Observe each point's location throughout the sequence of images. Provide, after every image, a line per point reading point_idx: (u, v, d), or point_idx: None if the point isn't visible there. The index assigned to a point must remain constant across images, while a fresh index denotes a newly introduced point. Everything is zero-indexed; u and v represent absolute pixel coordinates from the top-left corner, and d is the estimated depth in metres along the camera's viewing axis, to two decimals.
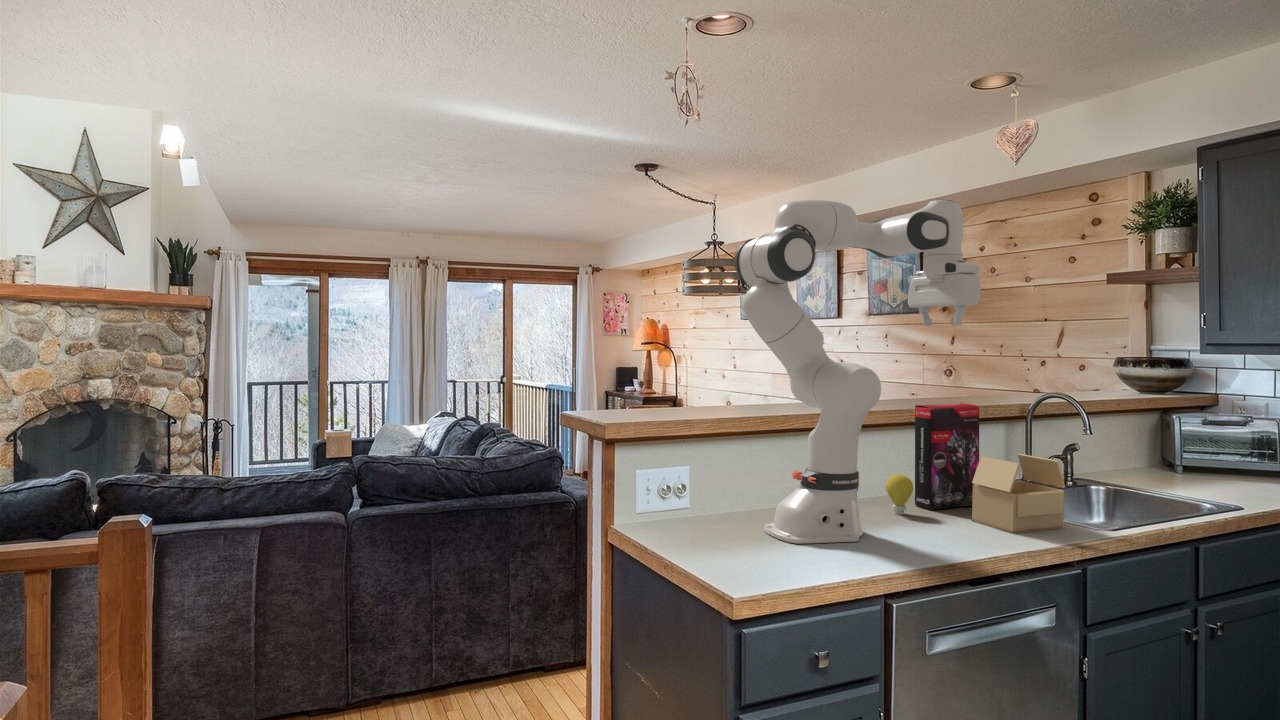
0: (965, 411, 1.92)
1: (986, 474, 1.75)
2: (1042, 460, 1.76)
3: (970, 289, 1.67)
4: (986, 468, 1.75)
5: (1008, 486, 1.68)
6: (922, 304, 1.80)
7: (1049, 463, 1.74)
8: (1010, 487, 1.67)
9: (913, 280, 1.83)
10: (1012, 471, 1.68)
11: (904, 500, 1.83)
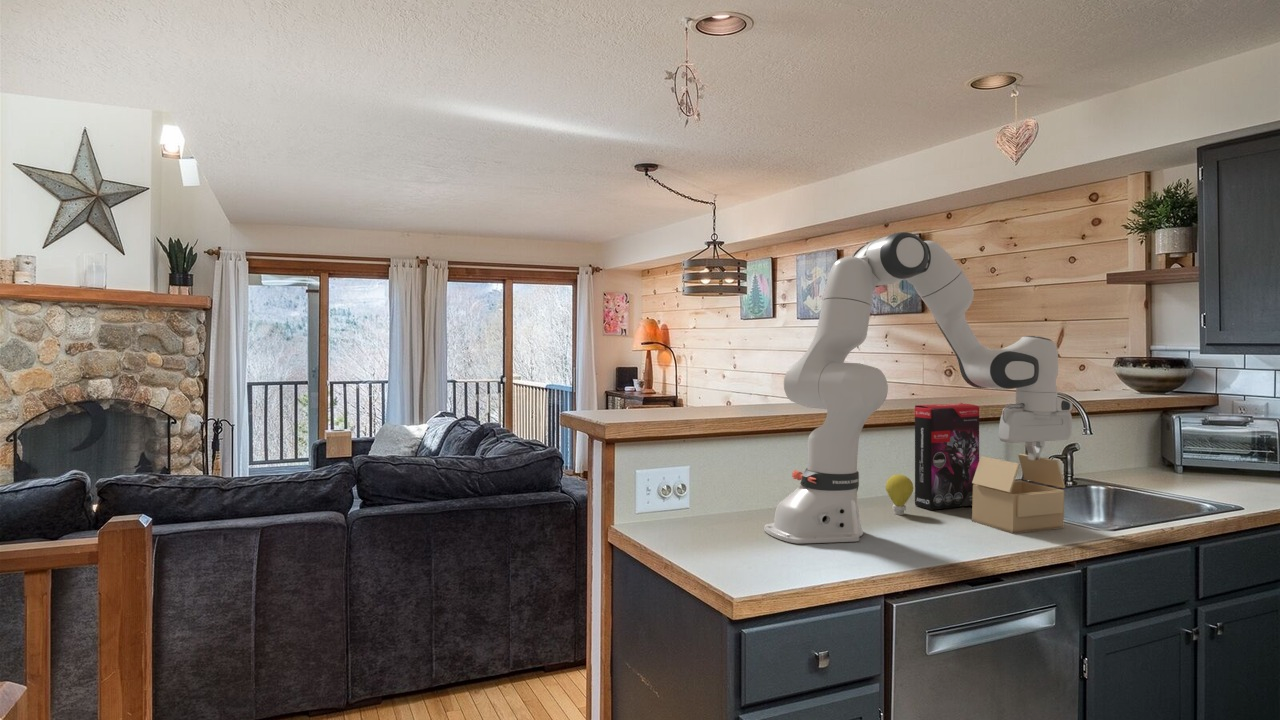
0: (965, 411, 1.92)
1: (986, 474, 1.75)
2: (1043, 460, 1.76)
3: None
4: (986, 468, 1.75)
5: (1008, 486, 1.68)
6: (1026, 440, 1.74)
7: (1050, 463, 1.74)
8: (1010, 487, 1.67)
9: (1017, 414, 1.72)
10: (1012, 471, 1.68)
11: (904, 500, 1.83)
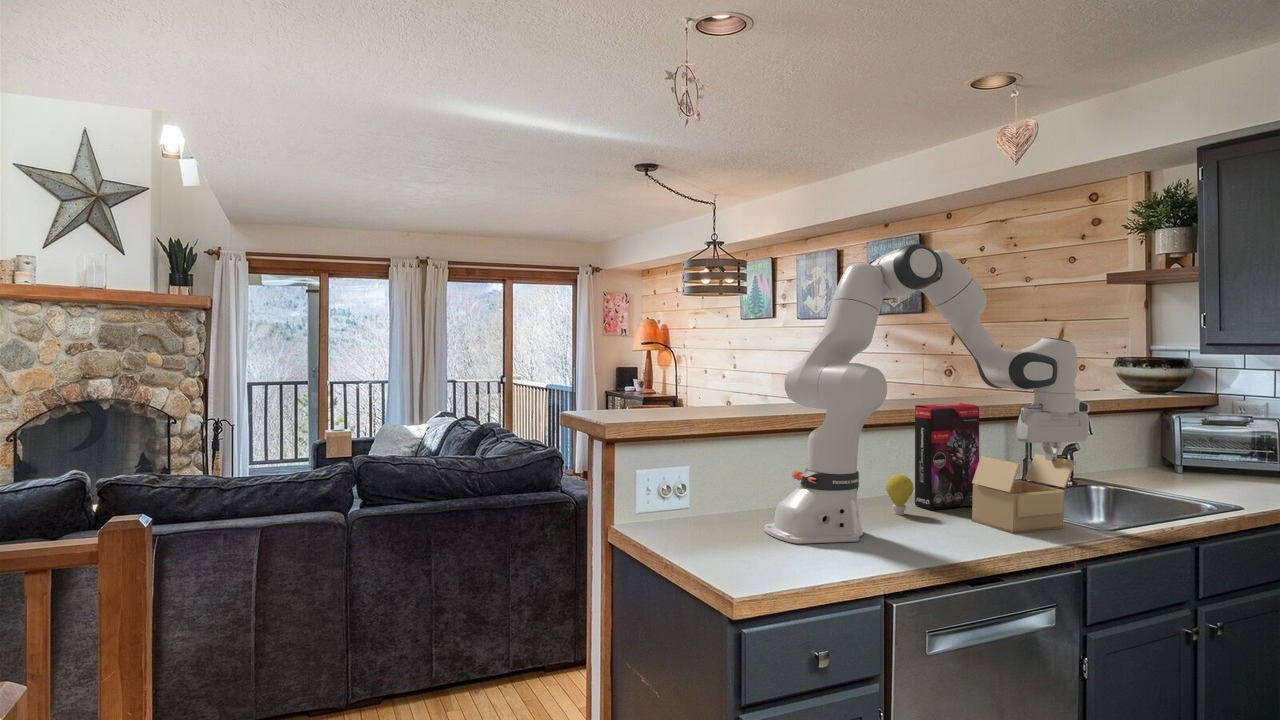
0: (965, 411, 1.92)
1: (986, 474, 1.75)
2: (1059, 459, 1.78)
3: None
4: (986, 468, 1.75)
5: (1008, 486, 1.68)
6: (1044, 440, 1.76)
7: (1065, 462, 1.76)
8: (1010, 487, 1.67)
9: (1035, 414, 1.74)
10: (1012, 471, 1.68)
11: (904, 500, 1.83)
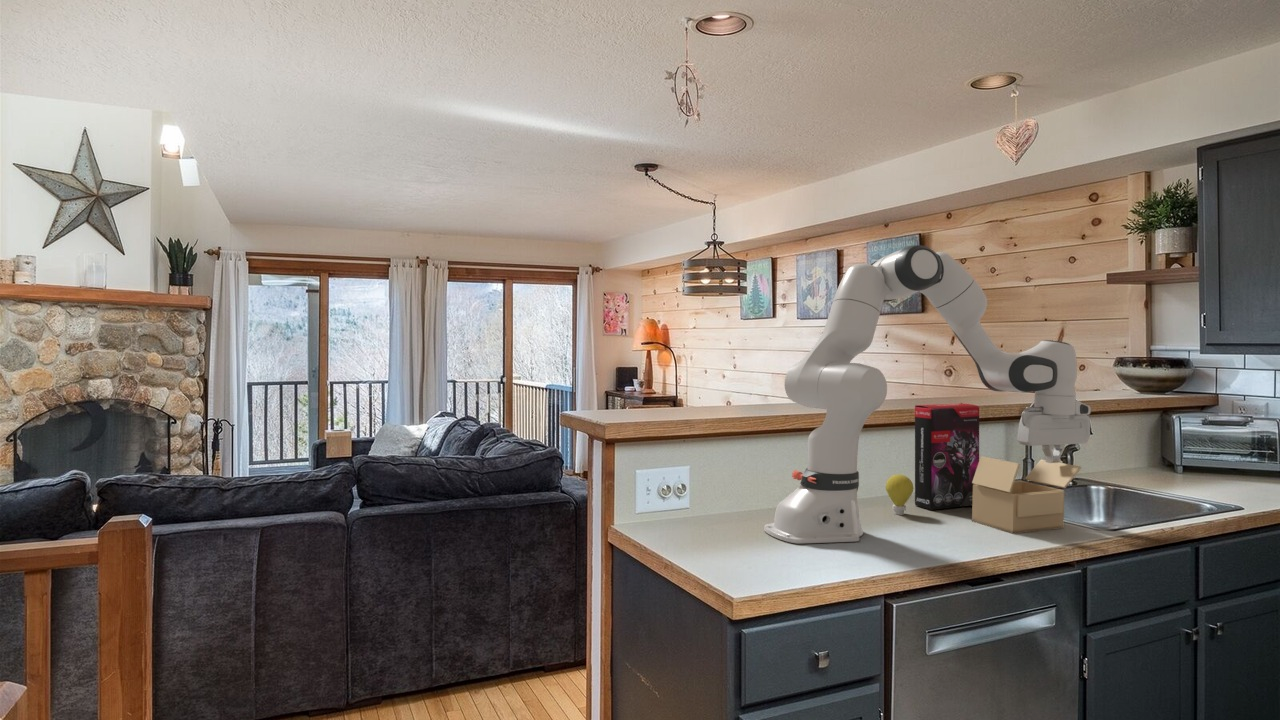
0: (965, 411, 1.92)
1: (986, 474, 1.75)
2: (1065, 464, 1.78)
3: None
4: (986, 468, 1.75)
5: (1008, 486, 1.68)
6: (1045, 442, 1.76)
7: (1071, 467, 1.77)
8: (1010, 487, 1.67)
9: (1036, 417, 1.74)
10: (1012, 471, 1.68)
11: (904, 500, 1.83)
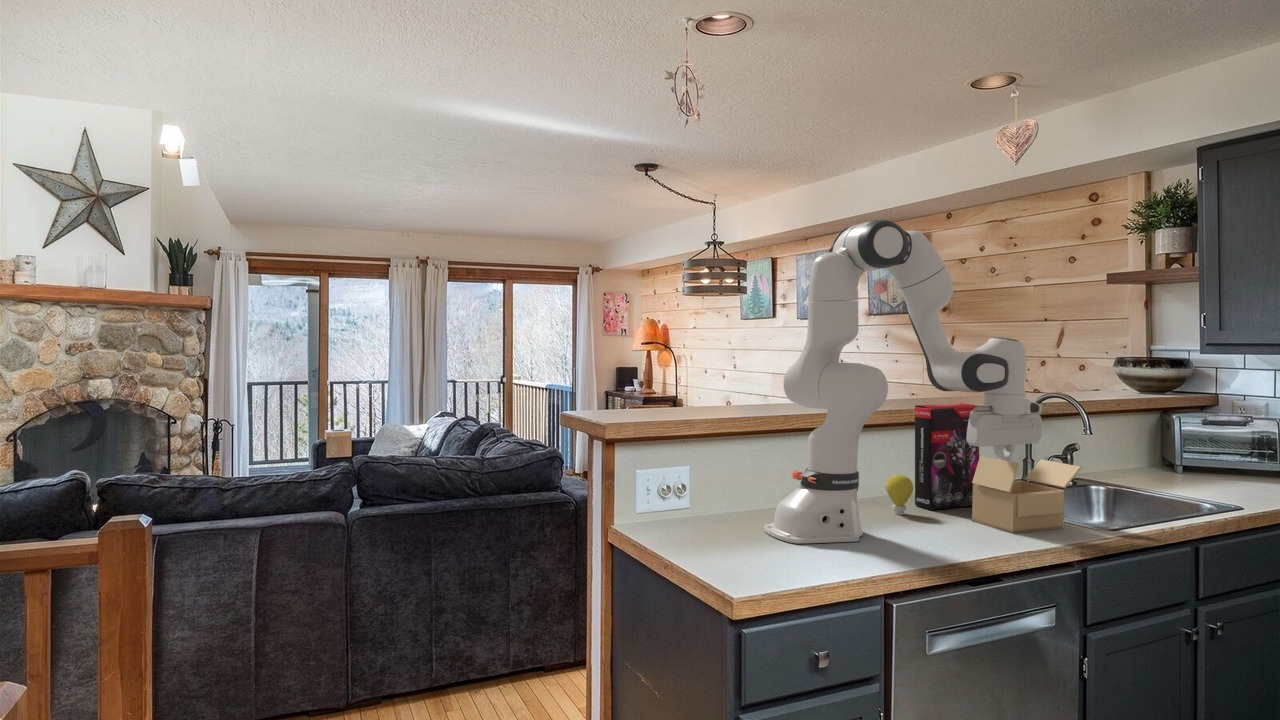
0: (965, 411, 1.92)
1: (986, 474, 1.75)
2: (1065, 464, 1.78)
3: None
4: (986, 468, 1.75)
5: (1008, 486, 1.68)
6: (995, 443, 1.70)
7: (1071, 467, 1.77)
8: (1010, 487, 1.67)
9: (984, 417, 1.69)
10: (1012, 471, 1.68)
11: (904, 500, 1.83)
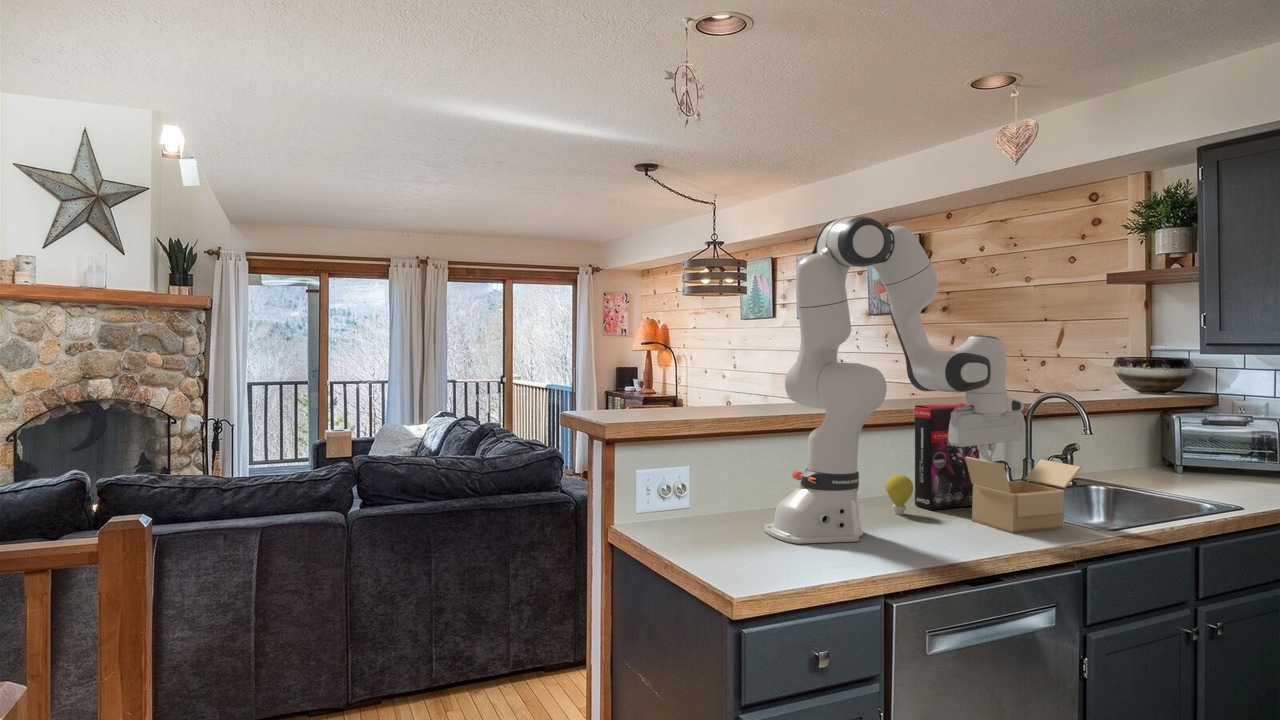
0: None
1: (979, 475, 1.74)
2: (1065, 464, 1.78)
3: None
4: (976, 469, 1.74)
5: (1005, 487, 1.68)
6: (977, 443, 1.68)
7: (1071, 467, 1.77)
8: (1007, 488, 1.67)
9: (965, 417, 1.67)
10: (1001, 472, 1.67)
11: (904, 500, 1.83)
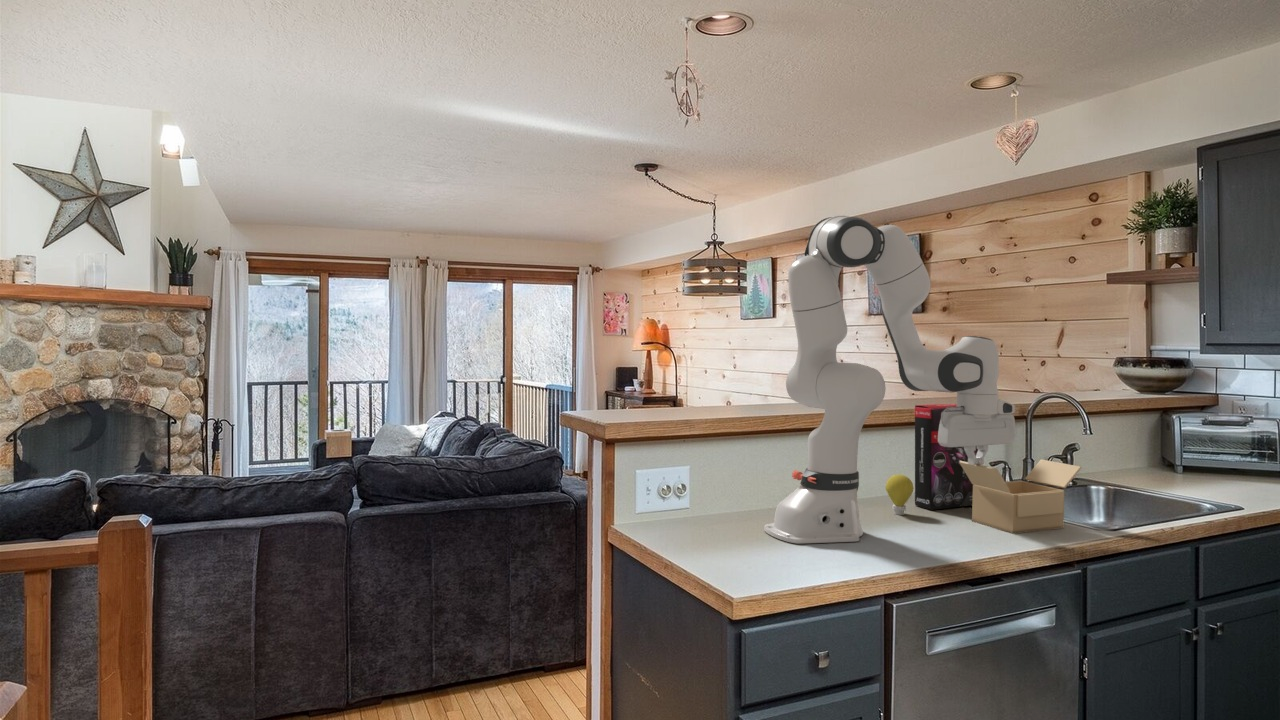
0: None
1: (977, 477, 1.74)
2: (1065, 464, 1.78)
3: None
4: (973, 472, 1.74)
5: (1004, 488, 1.67)
6: (966, 444, 1.67)
7: (1071, 467, 1.77)
8: (1006, 489, 1.67)
9: (955, 417, 1.66)
10: (996, 476, 1.67)
11: (904, 500, 1.83)
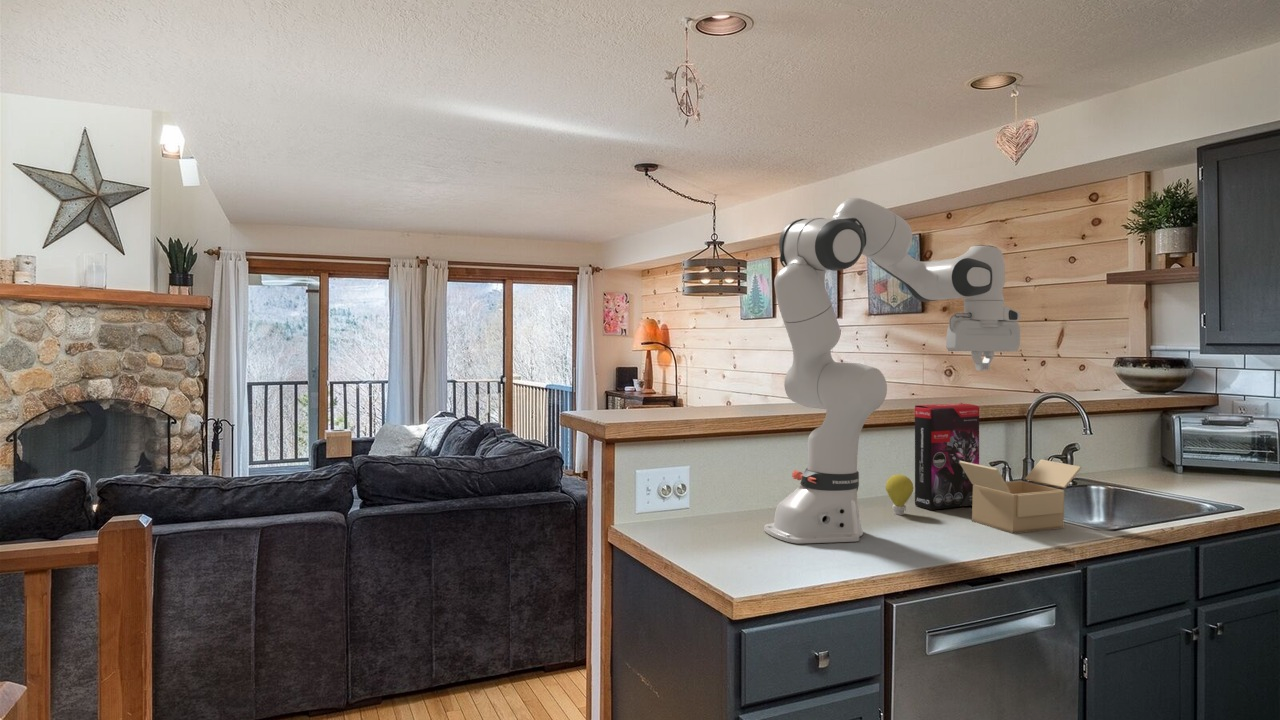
0: (965, 411, 1.92)
1: (977, 477, 1.74)
2: (1065, 464, 1.78)
3: None
4: (973, 472, 1.74)
5: (1004, 488, 1.67)
6: (973, 348, 1.73)
7: (1071, 467, 1.77)
8: (1006, 489, 1.67)
9: (963, 322, 1.72)
10: (996, 476, 1.67)
11: (904, 500, 1.83)
